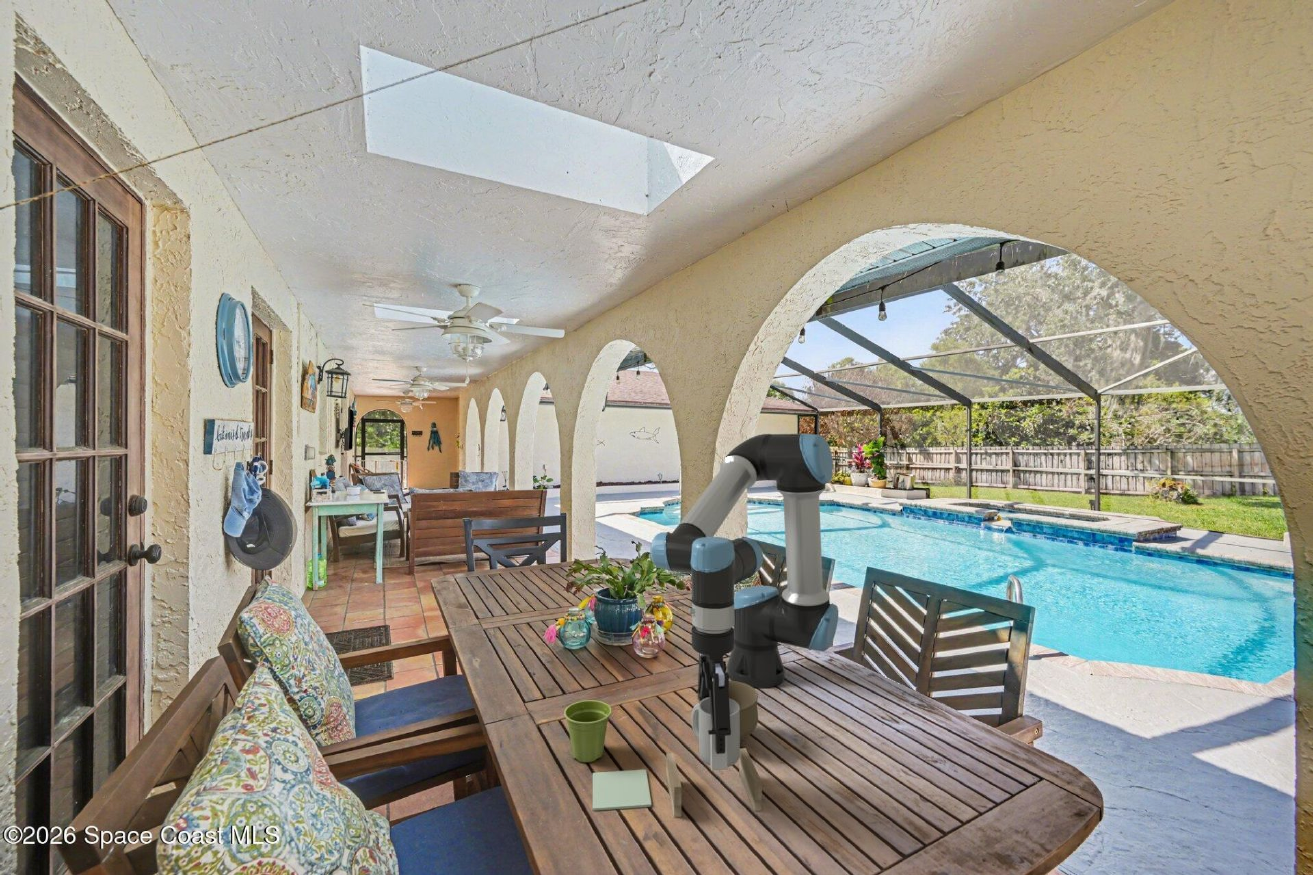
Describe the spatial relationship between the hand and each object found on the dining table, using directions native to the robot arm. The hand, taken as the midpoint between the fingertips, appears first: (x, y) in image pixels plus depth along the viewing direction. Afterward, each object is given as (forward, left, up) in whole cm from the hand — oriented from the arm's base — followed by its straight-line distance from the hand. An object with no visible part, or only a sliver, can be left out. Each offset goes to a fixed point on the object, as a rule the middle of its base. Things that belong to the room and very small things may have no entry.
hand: (713, 753), depth 98 cm
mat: (+16, -3, -7) cm, 18 cm away
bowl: (-7, -17, -7) cm, 20 cm away
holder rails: (0, 0, -7) cm, 7 cm away
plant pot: (+22, -15, -7) cm, 28 cm away
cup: (0, 0, 0) cm, 1 cm away
